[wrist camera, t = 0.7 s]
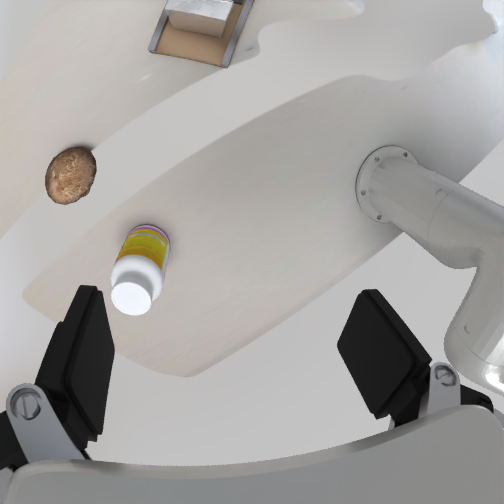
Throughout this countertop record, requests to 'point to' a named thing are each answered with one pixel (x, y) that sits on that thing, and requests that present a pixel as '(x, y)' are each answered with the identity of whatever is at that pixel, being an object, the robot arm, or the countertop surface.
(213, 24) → the block
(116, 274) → the supplement bottle
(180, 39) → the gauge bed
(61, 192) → the mushroom
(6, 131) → the countertop surface
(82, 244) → the countertop surface
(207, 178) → the countertop surface
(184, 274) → the countertop surface
